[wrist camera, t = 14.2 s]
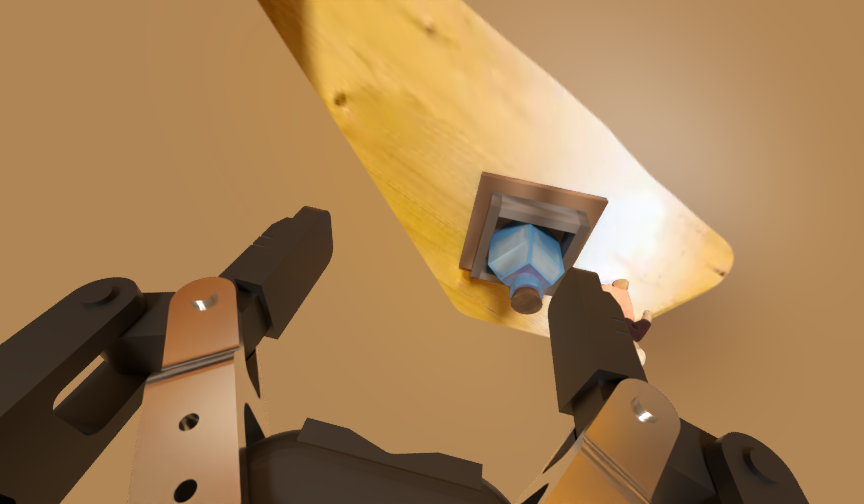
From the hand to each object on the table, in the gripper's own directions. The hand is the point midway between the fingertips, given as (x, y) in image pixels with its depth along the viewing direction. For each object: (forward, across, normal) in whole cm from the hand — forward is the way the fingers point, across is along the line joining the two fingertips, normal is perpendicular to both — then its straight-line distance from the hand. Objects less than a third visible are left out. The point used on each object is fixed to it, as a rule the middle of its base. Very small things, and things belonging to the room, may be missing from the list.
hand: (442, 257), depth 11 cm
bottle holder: (+29, -9, +17) cm, 35 cm away
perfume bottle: (+28, -9, +17) cm, 34 cm away
